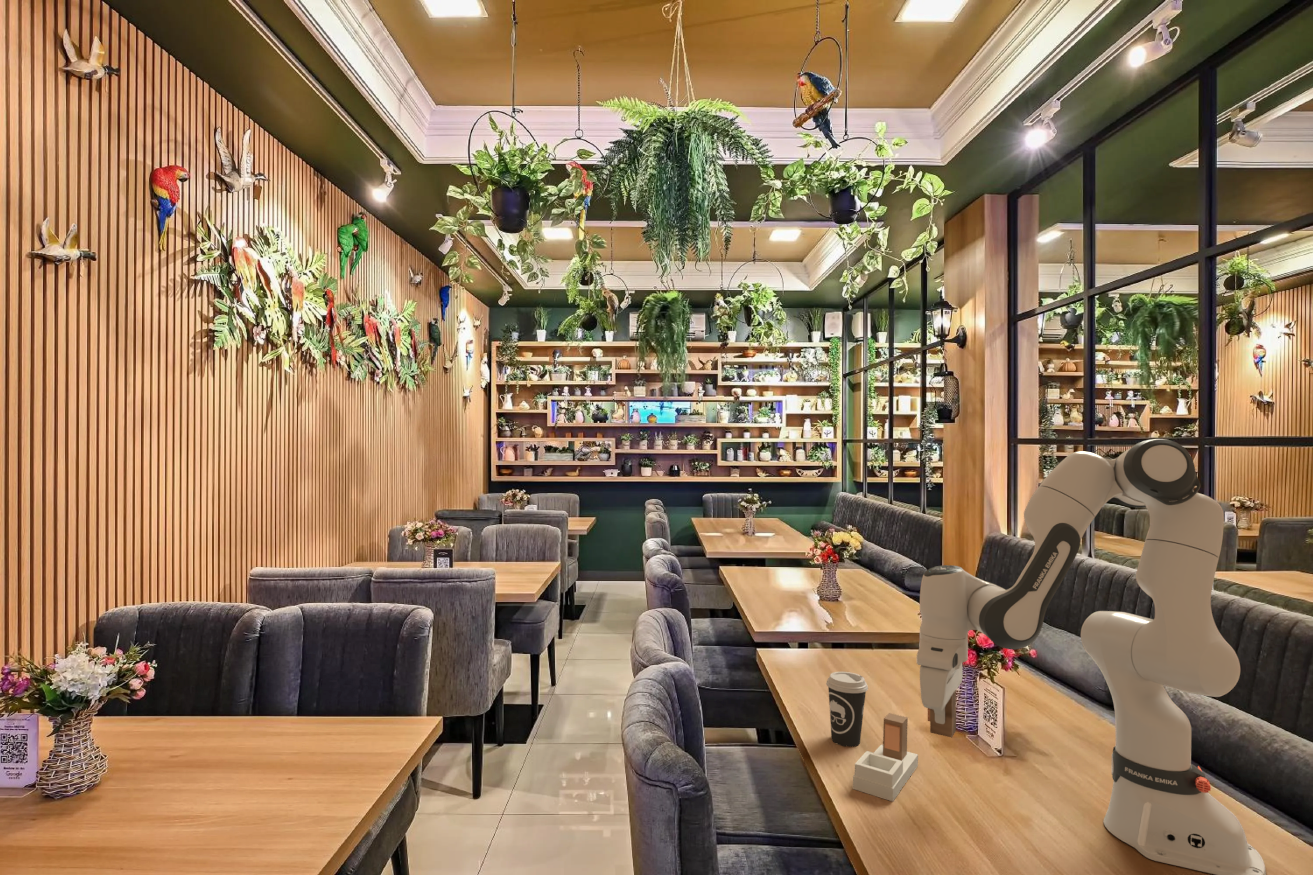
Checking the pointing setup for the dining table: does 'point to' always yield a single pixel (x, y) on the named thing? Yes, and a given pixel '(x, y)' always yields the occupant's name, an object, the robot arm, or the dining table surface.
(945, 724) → the stacked taupe block
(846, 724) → the coffee cup
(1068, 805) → the dining table surface
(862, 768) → the block holder
